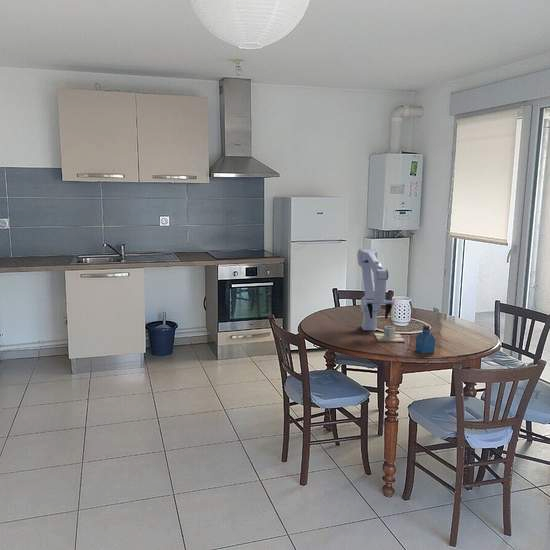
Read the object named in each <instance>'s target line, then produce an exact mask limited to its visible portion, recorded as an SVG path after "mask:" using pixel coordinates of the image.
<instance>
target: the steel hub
mask: <svg viewBox="0 0 550 550" xmlns="http://www.w3.org/2000/svg"><path fill="white" fill-rule="evenodd" d="M387 327H392V328H387ZM383 333H384V337H385V338H395V333H396V326H393V325H385V326H383Z"/></svg>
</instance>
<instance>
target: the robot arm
mask: <svg viewBox="0 0 550 550" xmlns="http://www.w3.org/2000/svg"><path fill="white" fill-rule="evenodd" d="M356 256H357V264H358V266H360V268H361V273H362V274H361V275H362V281H363V291H364V296H362V297H361V298H360V311H361V312H362V313H363V315H362V324H360V327H361V329H362V330H363V331H376V330H378V331H379V329H378V328H377V321H378V320H377V318H378V314H379V312H380V311H381V309H382V308H381V307H382V306H383V305H385V306H384V307H385V311H384V313H385V314H384V319H385V320H387V319H388V317H389V314H390V311H391V310H392V308H393V306H394V305H395V301H394V300H388V299H386V296H387V295H386V293H387V292H386V290H387V281H388V280H389V270H388V268H385V267H383V265H382V263H381V261H379V260H378V250H377V249H376V248H375V249H373V248H372V249H371V248H367V249H366V248H364V249H362V248H359V249H358V251H357V255H356ZM372 274H373V277H372ZM373 283H374V285H373Z"/></svg>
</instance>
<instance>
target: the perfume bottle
mask: <svg viewBox="0 0 550 550" xmlns="http://www.w3.org/2000/svg"><path fill="white" fill-rule="evenodd" d="M430 327H431V326H429V325H422V328H421V329H422V330H421V331H422V332H421V331H420V332H419V333H418V334H417V335H416V337H415V349H416V350H415V351H417V350H418V351H417V352H419V353H421V354H433V353H432V352H434V353H435V347H436V346H435V345H436V339H435V337H434V335H433V334H432V333H430V332H431V328H430Z"/></svg>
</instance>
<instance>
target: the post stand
mask: <svg viewBox="0 0 550 550" xmlns="http://www.w3.org/2000/svg"><path fill="white" fill-rule="evenodd" d="M387 328H392V327H387ZM373 335H375V336H374V337H375V339H376V341H377V342H378V343H397V342H406V341H405V339H404V338H403V336H402V335H401V333H396V332H395V338H385V337H384V332H374V333H373Z"/></svg>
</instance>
